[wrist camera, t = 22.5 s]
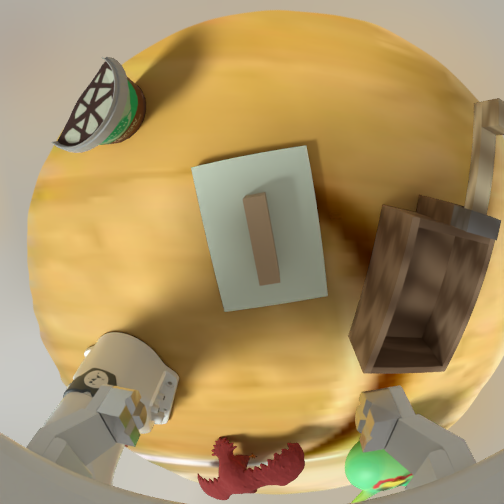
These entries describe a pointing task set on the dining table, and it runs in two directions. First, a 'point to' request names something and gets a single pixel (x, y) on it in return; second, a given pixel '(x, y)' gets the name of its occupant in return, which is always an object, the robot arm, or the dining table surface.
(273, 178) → the toolbox lid
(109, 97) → the food container
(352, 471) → the toy bird
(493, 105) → the wooden key
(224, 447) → the red toy dinosaur
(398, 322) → the toolbox
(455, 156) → the dining table surface
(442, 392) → the dining table surface
